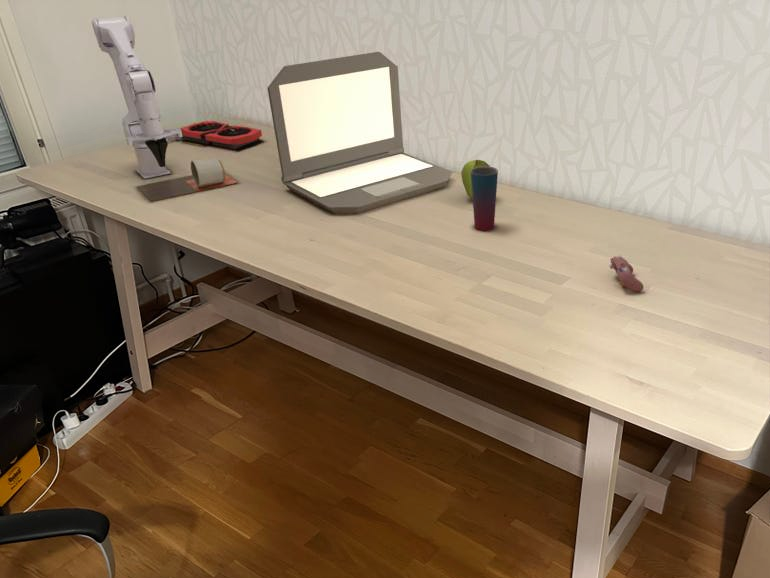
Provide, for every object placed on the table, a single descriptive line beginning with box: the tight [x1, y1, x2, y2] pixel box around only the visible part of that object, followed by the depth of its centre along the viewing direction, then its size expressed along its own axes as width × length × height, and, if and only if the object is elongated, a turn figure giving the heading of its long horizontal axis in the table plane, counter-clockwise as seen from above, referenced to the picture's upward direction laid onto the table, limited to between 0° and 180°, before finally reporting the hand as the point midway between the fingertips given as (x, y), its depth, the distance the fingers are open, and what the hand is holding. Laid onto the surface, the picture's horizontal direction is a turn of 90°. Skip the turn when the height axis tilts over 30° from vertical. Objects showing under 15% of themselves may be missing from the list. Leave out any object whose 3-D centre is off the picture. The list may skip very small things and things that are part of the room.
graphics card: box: [166, 120, 264, 152], centre depth 244 cm, size 20×32×4 cm, turn 57°
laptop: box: [267, 51, 454, 215], centre depth 196 cm, size 43×31×34 cm
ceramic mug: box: [190, 157, 226, 187], centre depth 207 cm, size 11×8×8 cm
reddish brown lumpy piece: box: [609, 254, 644, 293], centre depth 152 cm, size 10×5×7 cm, turn 5°
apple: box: [461, 159, 491, 201], centre depth 193 cm, size 9×8×12 cm
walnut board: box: [137, 173, 238, 203], centre depth 208 cm, size 15×25×1 cm, turn 126°
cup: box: [471, 165, 499, 232], centre depth 176 cm, size 7×7×15 cm
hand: (162, 165), depth 199 cm, fingers closed
